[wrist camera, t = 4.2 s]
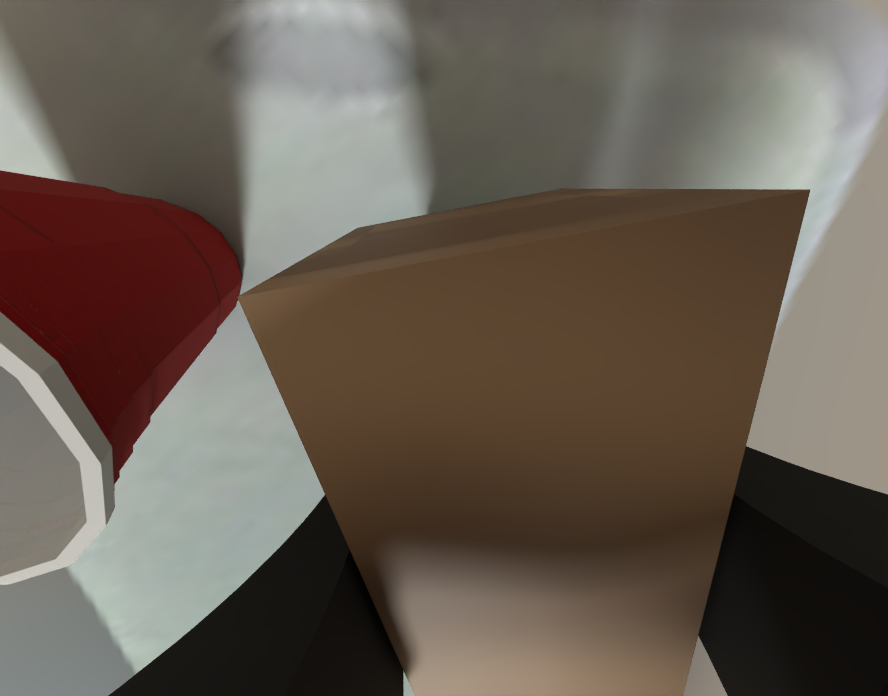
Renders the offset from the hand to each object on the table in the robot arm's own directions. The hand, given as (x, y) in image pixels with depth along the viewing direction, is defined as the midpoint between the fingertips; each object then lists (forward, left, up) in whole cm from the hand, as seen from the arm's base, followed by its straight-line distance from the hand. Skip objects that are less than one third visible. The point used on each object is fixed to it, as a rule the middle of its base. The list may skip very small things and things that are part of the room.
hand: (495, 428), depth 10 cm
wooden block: (0, 0, -2) cm, 2 cm away
